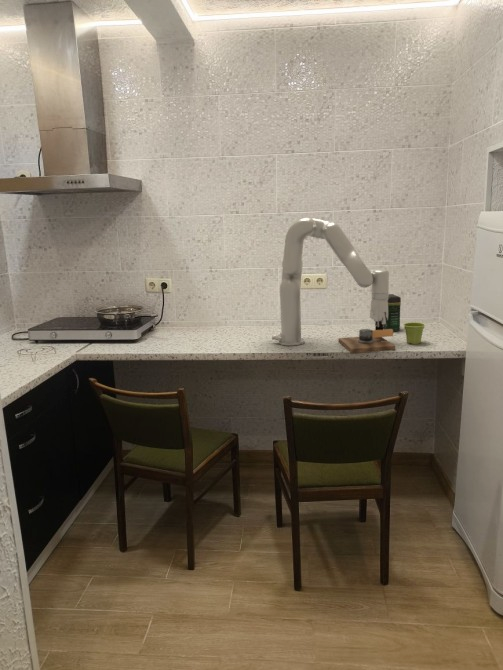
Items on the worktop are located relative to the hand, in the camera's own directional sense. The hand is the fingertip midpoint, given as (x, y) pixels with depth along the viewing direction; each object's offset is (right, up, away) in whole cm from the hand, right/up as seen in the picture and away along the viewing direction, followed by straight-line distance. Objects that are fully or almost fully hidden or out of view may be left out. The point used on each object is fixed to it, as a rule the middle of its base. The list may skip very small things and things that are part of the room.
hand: (379, 334), depth 227 cm
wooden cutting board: (-8, -5, -5) cm, 11 cm away
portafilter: (-3, -2, -6) cm, 7 cm away
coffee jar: (+12, +2, +23) cm, 26 cm away
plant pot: (+15, -4, -3) cm, 16 cm away
